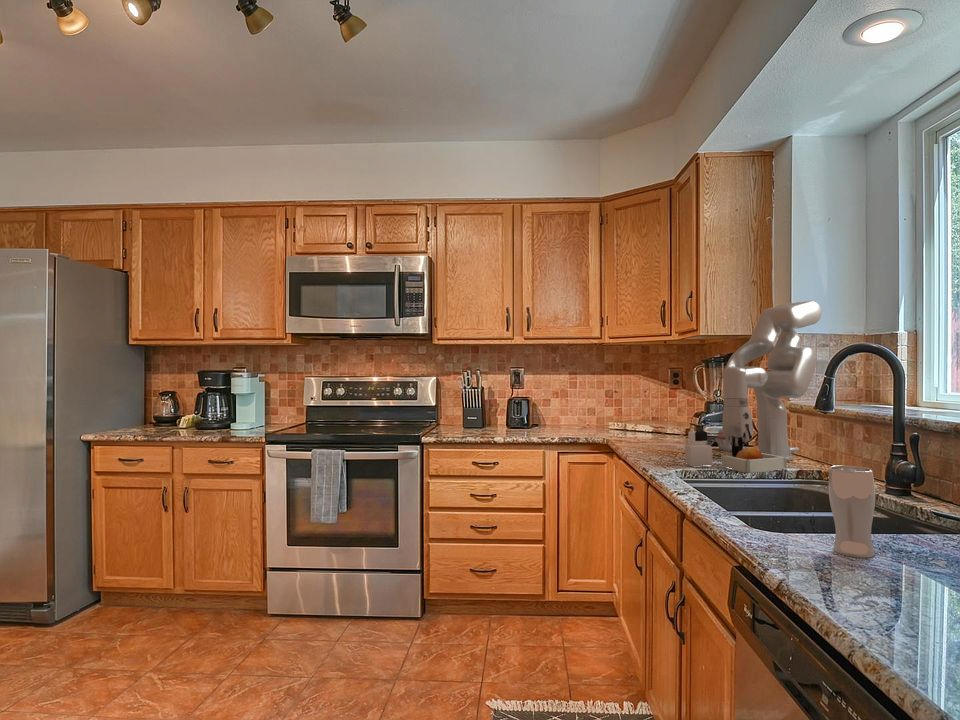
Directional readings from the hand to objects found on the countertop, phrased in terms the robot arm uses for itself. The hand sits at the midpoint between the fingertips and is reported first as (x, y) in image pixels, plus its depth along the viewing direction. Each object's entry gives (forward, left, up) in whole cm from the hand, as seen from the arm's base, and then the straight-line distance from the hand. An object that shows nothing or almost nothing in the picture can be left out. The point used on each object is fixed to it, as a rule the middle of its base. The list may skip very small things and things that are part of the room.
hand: (737, 457), depth 191 cm
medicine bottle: (+12, -5, -3) cm, 13 cm away
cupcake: (-20, -30, -3) cm, 36 cm away
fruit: (0, +6, -3) cm, 7 cm away
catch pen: (0, +7, -3) cm, 8 cm away
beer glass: (+44, +82, -3) cm, 93 cm away
